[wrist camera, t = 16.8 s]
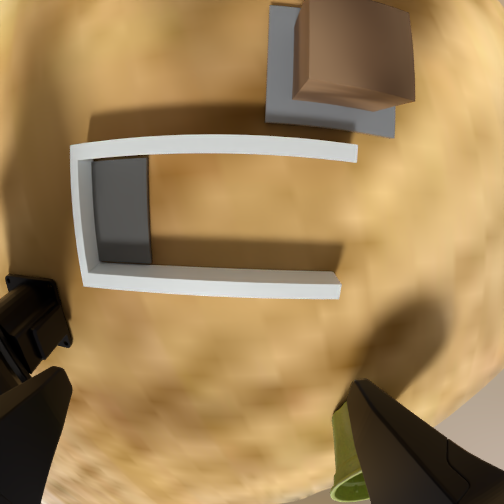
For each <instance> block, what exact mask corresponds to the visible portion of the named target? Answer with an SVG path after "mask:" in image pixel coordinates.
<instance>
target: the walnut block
mask: <svg viewBox="0 0 504 504" xmlns="http://www.w3.org/2000/svg"><path fill="white" fill-rule="evenodd" d="M292 100H299V101H309V102H317V103H324V104H331V105H338V106H344V107H350V108H356V109H361V110H366V111H371V112H375V111H378V110H382V109H386V108H390V107H393V106H397V105H401V104H405V103H410V102H414V101H415V73H414V55H413V43H412V33H411V25H410V17H409V13H408V12H405V11H403V10H400V9H397V8H394V7H391V6H388V5H385V4H382V3H378V2H375V1H372V0H304V1H303V4H302V7H301V9H300V12H299V15H298V17H297V20H296V23H295V26H294V57H293V88H292Z"/></svg>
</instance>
